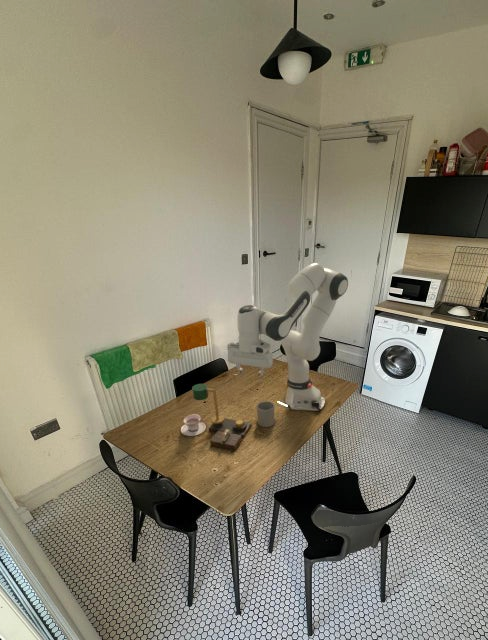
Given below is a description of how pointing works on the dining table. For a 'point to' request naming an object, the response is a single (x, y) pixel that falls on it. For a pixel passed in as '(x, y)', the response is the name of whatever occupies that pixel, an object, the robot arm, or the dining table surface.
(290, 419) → the dining table surface
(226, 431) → the dimmer knob
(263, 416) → the cup
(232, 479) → the dining table surface
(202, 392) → the desk lamp
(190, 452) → the dining table surface
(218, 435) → the dimmer
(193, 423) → the teacup
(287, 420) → the dining table surface
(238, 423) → the lamp switch
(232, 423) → the lamp base
